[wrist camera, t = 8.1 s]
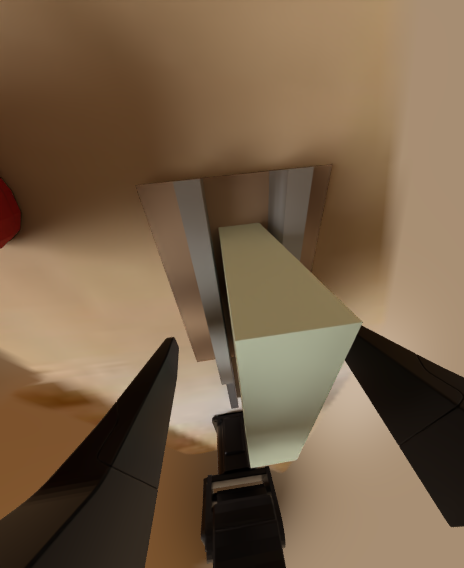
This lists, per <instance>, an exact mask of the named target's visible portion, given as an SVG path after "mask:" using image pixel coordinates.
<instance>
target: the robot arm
mask: <svg viewBox="0 0 464 568" xmlns="http://www.w3.org/2000/svg"><path fill="white" fill-rule="evenodd" d="M178 353H179V347H178V344H177V342H176V340H175V338H174V337H170V338H166V339H165V341H164V342H163V343H162V344H161V346H160V347H159V348H158V349H157V351H156V352H155V353H154V354H153V356H152V357H151V358H150V360H149V361H148V362H147V363H146V365H145V366H144V367H143V368H142V370H141V371H140V372H139V373H138V375H137V376H136V377H135V379H134V380H133V381H132V382H131V384H130V385H129V386H128V387H127V389H126V390H125V391H124V392H123V394H122V395H121V396H120V397H119V399H118V400H117V402H116V403H115V404H114V405H113V406H112V408H111V409H110V410H109V411H108V413H107V414H106V415H105V416H104V417H103V419H102V420H101V421H100V422H99V424H98V425H97V426H96V427H95V428H94V429H93V430H92V432H91V433H90V434H89V435H88V436H87V437H86V438H85V440H84V441H83V442H82V443H81V444H80V445H79V446H78V447H77V449H76V450H75V451H74V452H73V453H72V454H71V455H70V456H69V458H68V459H67V460H66V461H65V462H64V463H63V464H62V465H61V466H60V468H59V469H58V470H57V471H56V472H55V473H54V474H53V475H52V476H51V477H50V479H49V480H48V481H47V482H46V483H45V484H44V485H43V486H42V487H41V488H40V489H39V490H38V491H37V492H36V493H34V494H33V495H32V496H31V497H30V498H29V499H27V500H26V501H25V502H24V503H23V504H21V505H20V506H19V507H17V508H16V509H15V510H14V511H12V512H11V513H9V514H8V515H7V516H5V517H4V518H2V519H1V520H0V568H145V562H146V556H147V551H148V545H149V539H150V533H151V527H152V521H153V515H154V509H155V504H156V498H157V492H158V490H157V489H158V486H159V479H160V474H161V468H162V462H163V456H164V451H165V445H166V439H167V433H168V427H169V422H170V416H171V410H172V404H173V398H174V392H175V387H176V380H177V370H178ZM345 361H346V363H347V364H348V366H349V368H350V369H351V371H352V372H353V374H354V376H355V377H356V379H357V380H358V382H359V383H360V385H361V387H362V388H363V390H364V391H365V393H366V395H367V396H368V397H369V399H370V401H371V402H372V404H373V405H374V407H375V409H376V410H377V412H378V413H379V415H380V417H381V418H382V420H383V421H384V423H385V425H386V426H387V428H388V429H389V431H390V433H391V434H392V436H393V437H394V439H395V440H396V442H397V444H398V445H399V447H400V449H401V450H402V452H403V453H404V455H405V456H406V458H407V459H408V461H409V463H410V464H411V466H412V468H413V469H414V471H415V472H416V474H417V475H418V477H419V479H420V480H421V482H422V483H423V485H424V487H425V488H426V490H427V491H428V493H429V494H430V496H431V498H432V499H433V501H434V502H435V504H436V505H437V507H438V509H439V510H440V512H441V513H442V515H443V516H444V518H445V519H446V521H447V523H448V524H449V525H450V526H451V527H462V526H464V377H462V376H459V375H457V374H455V373H453V372H451V371H449V370H447V369H445V368H443V367H441V366H439V365H437V364H435V363H433V362H431V361H429V360H427V359H425V358H423V357H421V356H419V355H416V354H415V353H413V352H411V351H410V350H407V349H406V348H404V347H402V346H400V345H398V344H396V343H394V342H392V341H390V340H388V339H387V338H385V337H383V336H381V335H379V334H377V333H375V332H373V331H371V330H369V329H367V328H365V327H363V326H362V325H361V327H360V329H359V331H358V333H357V335H356V337H355V340H354V342H353V344H352V346H351V348H350V350H349V352H348V354H347V356H346V358H345ZM212 423H213V425H214V428H215V430H216V433H217V451H218V475H213V476H212V475H208V477H207V478H205V479H204V488H203V509H202V525H201V540H202V542H203V543H204V545H205V552H207V564H208V563H213V568H286V566H285V560H284V555H283V549H282V548H285V534H284V528H283V522H282V517H281V513H280V509H279V505H278V501H277V497H276V493H275V489H274V485H273V481H272V477H271V473H270V469H269V466H265V467H264V468H257V467H255V468H251V467H250V460H249V453H248V445H247V438H246V431H245V423H244V416H243V412H242V413H236V414H230V415H224V416H218V417H213V418H212ZM257 481H262V482H263V484H260V485H254V486H247V487H241V488H235V489H229V490H223V491H218V492H217V493H213V489H214V488H220V487H226V486H232V485H239V484H244V483H251V482H257Z"/></svg>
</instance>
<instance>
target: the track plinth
mask: <svg viewBox="0 0 464 568" xmlns="http://www.w3.org/2000/svg"><path fill="white" fill-rule="evenodd" d="M331 169H332V164H331V165H321V166H311V167H302V168H292V169H283V170H274V171H264V172H255V173H245V174H236V175H227V176H217V177H208V178H199V179H189V180H180V181H170V182H161V183H152V184H143V185H135V186H136V189H137V192H138V195H139V197H140V200H141V203H142V206H143V209H144V212H145V214H146V217H147V220H148V223H149V226H150V229H151V232H152V234H153V237H154V240H155V243H156V246H157V249H158V252H159V254H160V257H161V260H162V263H163V266H164V269H165V272H166V274H167V277H168V280H169V283H170V286H171V289H172V292H173V294H174V297H175V300H176V303H177V306H178V309H179V311H180V314H181V317H182V320H183V323H184V326H185V329H186V331H187V334H188V337H189V340H190V343H191V346H192V349H193V351H194V354H195V357H196V360H197V362H200V361H207V360H214V359H216V363H217V367H218V371H219V375H220V379H221V383H222V385H224V384H231V383H233V375H232V366H231V357H233V356H235V350H234V343H233V335H232V328H231V320H230V312H229V305H228V297H227V289H226V282H225V274H224V267H223V259H222V251H221V244H220V236H219V229H218V227H227V226H235V225H243V224H252V223H260V224H261V225H262V226H263V227H264V228H265V229H266V230H267V231H268V232H269V233H270V234H271V235H272V236H274V237H275V238H276V239H277V240H278V241H279V242H280V243H281V244H282V245H283V246H284V247H285V248H286V249H287V250H288V251H289V252H290V253H291V254H292V255H293V256H294V257H295V258H296V259H297V260H299V261H300V262H301V263H302V264H303V265H304V266H305V267H306V268H307V269H308V270H309V271H310V272H311V271H312V266H313V261H314V255H315V250H316V245H317V240H318V235H319V230H320V225H321V220H322V215H323V210H324V204H325V199H326V194H327V189H328V184H329V179H330V174H331Z"/></svg>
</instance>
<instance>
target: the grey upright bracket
mask: <svg viewBox="0 0 464 568" xmlns="http://www.w3.org/2000/svg"><path fill="white" fill-rule="evenodd" d="M231 366H232V360H231ZM232 375H233V383H231V384H226V385H227V389H228V394H229V399H230V404H231V408H232V409H233V408H239V407H238V399H237V392H236V385H235V379H234V373H233V366H232Z"/></svg>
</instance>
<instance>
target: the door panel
mask: <svg viewBox="0 0 464 568" xmlns="http://www.w3.org/2000/svg"><path fill="white" fill-rule="evenodd" d="M218 229H219V236H220V244H221V251H222V259H223V267H224V274H225V282H226V289H227V297H228V305H229V312H230V320H231V328H232V335H233V343H234V350H235V357H236V365H237V372H238V379H239V387H240V394H241V401H242V409H243V416H244V423H245V431H246V438H247V445H248V453H249V460H250V467H251V468H255V467H260V466H266V465H272V464H277V463H283V462H288V461H294V460H297V458H298V456H299V454H300V452H301V450H302V448H303V446H304V444H305V442H306V440H307V438H308V435H309V433H310V431H311V429H312V427H313V425H314V423H315V421H316V419H317V417H318V415H319V413H320V410H321V408H322V406H323V404H324V402H325V400H326V398H327V396H328V394H329V392H330V390H331V387H332V385H333V383H334V381H335V379H336V377H337V375H338V373H339V371H340V369H341V367H342V365H343V362H344V360H345V358H346V356H347V354H348V352H349V350H350V348H351V346H352V344H353V342H354V340H355V337H356V335H357V333H358V331H359V329H360V327H361V325H362V323H363V322H362V321H361V320H360V319H359V318H358V317H357V316H356V315H355V314H354V313H353V312H352V311H351V310H350V309H349V308H348V307H346V306H345V305H344V304H343V303H342V302H341V301H340V300H339V299H338V298H337V297H336V296H335V295H334V294H333V293H332V292H331V291H330V290H329V289H328V288H327V287H326V286H325V285H324V284H322V283H321V282H320V281H319V280H318V279H317V278H316V277H315V276H314V275H313V274H312V273H311V272H310V271H309V270H308V269H307V268H306V267H305V266H304V265H303V264H302V263H301V262H300V261H299V260H297V259H296V258H295V257H294V256H293V255H292V254H291V253H290V252H289V251H288V250H287V249H286V248H285V247H284V246H283V245H282V244H281V243H280V242H279V241H278V240H277V239H276V238H275V237H274V236H272V235H271V234H270V233H269V232H268V231H267V230H266V229H265V228H264V227H263V226H262V225H261V224H260V223H252V224H243V225H235V226H227V227H218Z"/></svg>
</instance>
